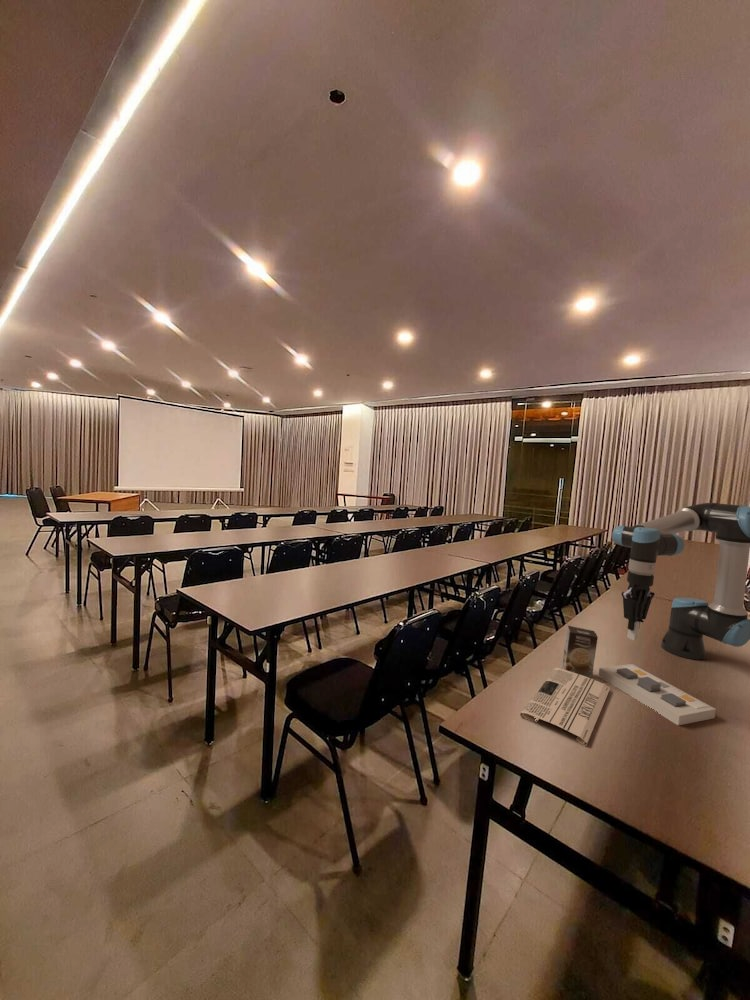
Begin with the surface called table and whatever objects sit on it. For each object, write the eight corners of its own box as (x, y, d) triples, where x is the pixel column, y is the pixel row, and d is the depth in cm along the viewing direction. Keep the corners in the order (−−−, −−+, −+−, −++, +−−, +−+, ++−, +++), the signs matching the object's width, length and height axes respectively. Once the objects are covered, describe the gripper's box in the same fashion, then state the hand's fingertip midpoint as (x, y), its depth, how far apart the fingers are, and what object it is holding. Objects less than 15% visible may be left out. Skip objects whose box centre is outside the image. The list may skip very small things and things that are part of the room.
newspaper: (554, 672, 146) (554, 665, 146) (615, 695, 134) (616, 687, 134) (519, 718, 117) (520, 709, 117) (593, 752, 105) (594, 742, 105)
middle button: (646, 686, 136) (648, 676, 136) (659, 693, 132) (660, 683, 132) (637, 687, 135) (638, 678, 135) (649, 694, 131) (651, 685, 130)
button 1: (625, 676, 144) (626, 667, 144) (636, 683, 140) (637, 674, 140) (615, 677, 143) (617, 669, 142) (627, 684, 138) (628, 675, 138)
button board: (631, 671, 150) (632, 662, 150) (714, 718, 124) (716, 707, 123) (598, 675, 145) (599, 667, 145) (678, 725, 119) (679, 714, 118)
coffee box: (563, 674, 144) (569, 631, 143) (561, 666, 150) (566, 625, 149) (592, 681, 141) (598, 637, 140) (589, 672, 147) (594, 630, 146)
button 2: (670, 702, 129) (671, 693, 129) (684, 711, 125) (686, 701, 124) (660, 704, 127) (661, 694, 127) (674, 713, 123) (676, 702, 123)
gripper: (637, 576, 132) (628, 645, 134) (665, 575, 136) (655, 642, 138) (617, 569, 139) (608, 635, 141) (644, 569, 143) (635, 632, 145)
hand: (632, 638), depth 140 cm, fingers closed
